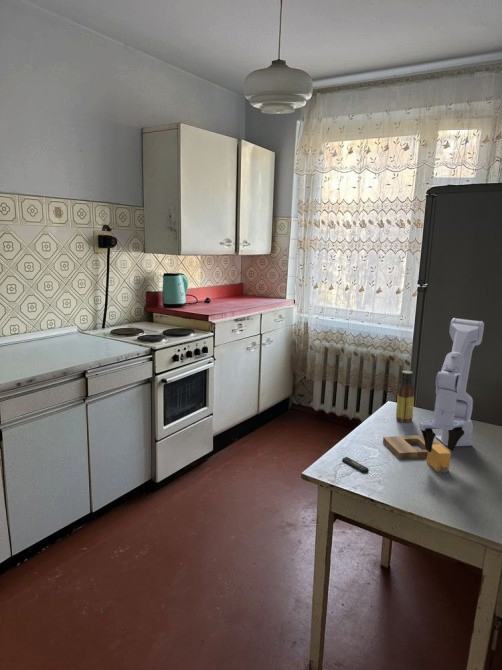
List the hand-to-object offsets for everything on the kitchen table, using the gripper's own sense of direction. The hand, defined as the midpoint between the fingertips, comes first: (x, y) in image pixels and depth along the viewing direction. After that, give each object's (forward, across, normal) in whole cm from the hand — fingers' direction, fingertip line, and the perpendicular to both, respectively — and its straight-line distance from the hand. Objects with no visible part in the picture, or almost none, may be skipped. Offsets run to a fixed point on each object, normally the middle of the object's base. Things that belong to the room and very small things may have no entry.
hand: (439, 450), depth 144 cm
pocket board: (+6, -1, +12) cm, 13 cm away
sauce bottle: (+6, +7, +36) cm, 37 cm away
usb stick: (+6, -26, +3) cm, 27 cm away
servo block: (+6, 0, 0) cm, 6 cm away
